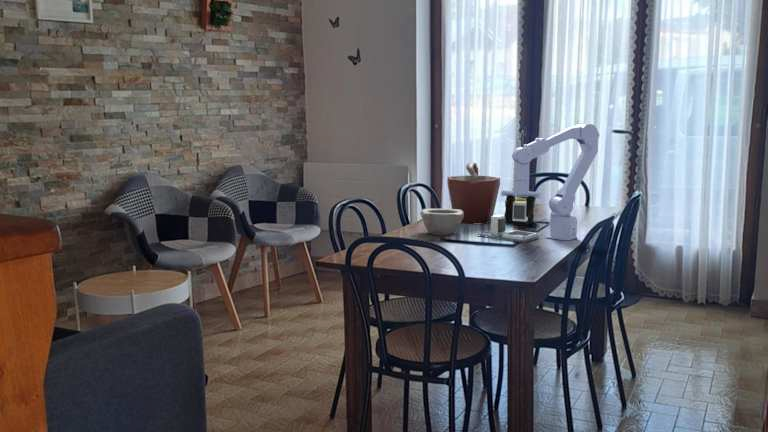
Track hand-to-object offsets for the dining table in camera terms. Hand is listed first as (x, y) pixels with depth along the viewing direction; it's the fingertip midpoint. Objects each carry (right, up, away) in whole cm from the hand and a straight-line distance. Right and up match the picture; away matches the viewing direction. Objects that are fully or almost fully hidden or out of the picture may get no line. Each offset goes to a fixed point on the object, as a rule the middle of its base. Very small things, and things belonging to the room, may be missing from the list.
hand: (520, 216), depth 267 cm
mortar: (-28, -7, +12) cm, 32 cm away
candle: (+6, -3, +36) cm, 36 cm away
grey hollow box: (-4, -8, +5) cm, 10 cm away
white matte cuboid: (0, -2, 0) cm, 2 cm away
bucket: (-14, -2, +41) cm, 44 cm away
